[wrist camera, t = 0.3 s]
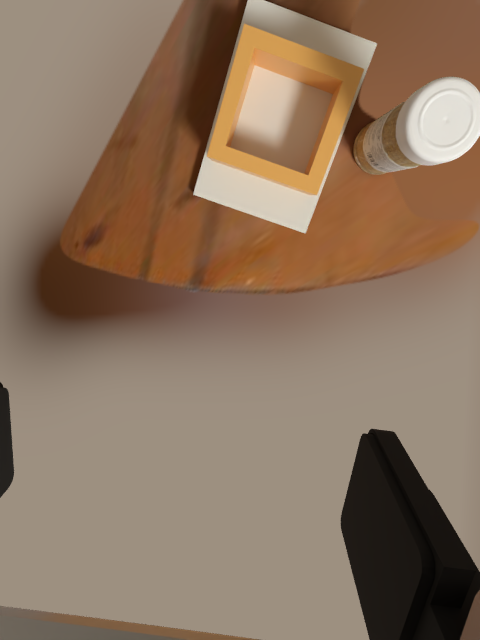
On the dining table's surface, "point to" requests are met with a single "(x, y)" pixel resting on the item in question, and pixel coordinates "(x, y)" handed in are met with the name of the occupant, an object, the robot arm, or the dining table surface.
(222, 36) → the dining table surface
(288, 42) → the socket base
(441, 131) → the sprinkles bottle
